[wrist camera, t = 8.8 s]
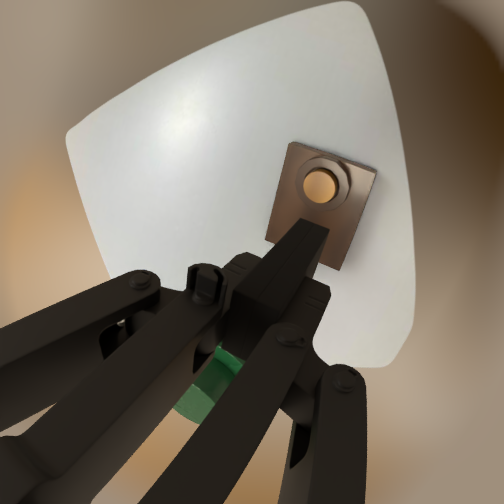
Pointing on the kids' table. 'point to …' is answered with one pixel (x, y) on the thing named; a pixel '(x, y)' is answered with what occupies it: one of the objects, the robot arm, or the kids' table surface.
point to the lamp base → (324, 214)
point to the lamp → (209, 386)
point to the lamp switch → (320, 185)
